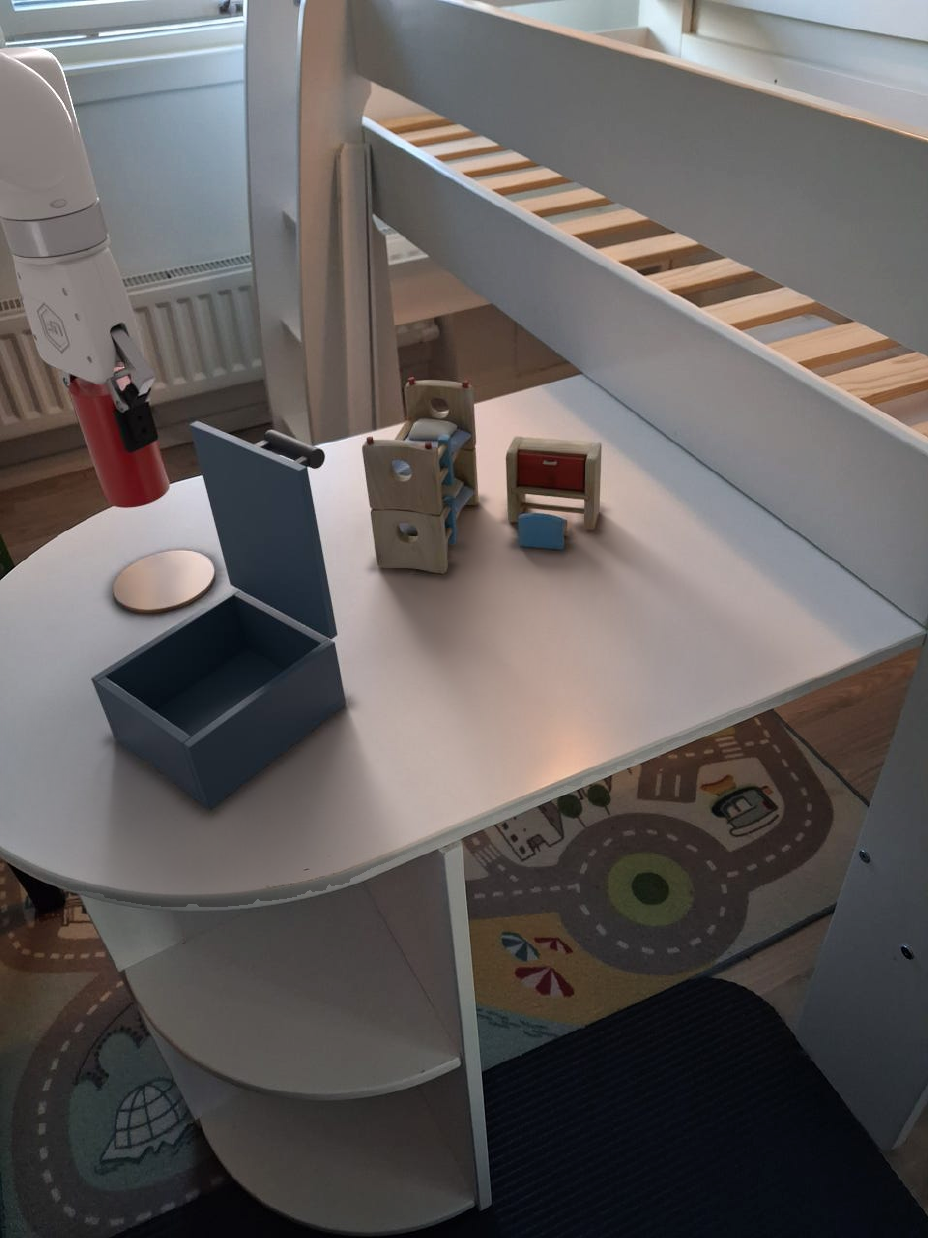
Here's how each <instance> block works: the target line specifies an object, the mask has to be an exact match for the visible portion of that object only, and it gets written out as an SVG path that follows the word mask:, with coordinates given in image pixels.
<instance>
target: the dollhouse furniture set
mask: <svg viewBox="0 0 928 1238" xmlns="http://www.w3.org/2000/svg"><path fill="white" fill-rule="evenodd" d="M407 381H408V382H406V384H405V386H404V401H405V411H406V421H405V422H404V424H403V425H402V427H401V428H400V430H399V432H398V433H397V434H396V436H395V437H394V438H393V439H374V437H373V436H367V437H366V441H364V443H363V444H362V446H361V452H362V460H363V467H364V474H365V481H366V482H365V483H366V489H367V495H368V503H369V508H370V509H371V510H370V520H371V527H372V535H373V542H374V550H375V558H376V565H377V567H378V568H383V569H415V570H420V571H425V572H430V573H435V574H442V575H444V574H446V573H447V571H448V568H449V562H448V549H449V547H448V546H449V545H451V546H453V545H454V546H455V545H456V543H458V542H457V541H458V528H457V527H458V526H457V521H458V519H459V516H460V514H461V511H462V509H463V507H465V506H477V505H478V502H479V483H478V481H479V480H478V470H477V468H478V467H477V450H476V449H477V448H476V445H477V433H476V432H477V431H476V417H475V416H476V415H475V396H474V386H473V385H471V384H469V382H468V380H463V381H462V382H456V381H450V380H437V379H436V380H435V379H427V380H415V377H412V376H410V377H408V380H407ZM434 399H441V400H442V401H444V402H445V403H446V405H447V407H448V411H446V412H439V411H437V410H435V408H434V407H433V405H432V400H434ZM602 446H603V445H602V443H601V442H596V441H592V442H591V441H579V440H566V439H553V438H540V437H528V436H527V437H526V436H525V437H524V436H518V435H517V436H514V437H513V439H512V441H511V442H510V444H509V447H508V449H507V450H506V455H505V468H506V469H505V475H506V479H505V480H506V500H507V501H506V503H507V505H506V506H507V521H508V522H509V523H517V531H518V546H519V547H520V546H521V547H527V548H537V549H547V550H548V549H549V550H557V551H562V550H564V547H565V537H567V536H568V519H565V518H562V517H561V516H557V515H553V514H550V513H544V512H543V513H542V512H541V513H540V512H528V513H523V511H524V509H531V510H539V511H540V510H541V511H553V512H559V513H560V512H561V513H571V514H580V515H581V514H582V515H583V530H585V531H594V530H595V527H596V524H597V520H598V517H599V513H600V511H601V510H600V507H601V506H600V505H601V475H602ZM526 495H529V496H530V495H531V496H540V497H541V496H542V497H550V498H551V497H552V498H562V499H573V500H580V501H583V503H584V505H583V507H577V506H569V505H568V506H567V505H557V504H547V503H539V502H538V503H537V502H529V501H527V500H526V499H527V497H526Z"/></svg>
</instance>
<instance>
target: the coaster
mask: <svg viewBox="0 0 928 1238" xmlns="http://www.w3.org/2000/svg"><path fill="white" fill-rule="evenodd" d="M215 577H216V569H215V566H214V564H213V562H212V560H210V558H208V557H207V556H205V555H203V554H202V553H200V552H195V551H190V550H167V551H161V552H157V553H154V554H151V555H148V556H144V557H143V558H140V559H138V560H136V561H135V562H133V563H131V564H130V565H128V566H127V567H125V568H124V569H123V570H122V571H121V572H120V573H119V575H117V577H116V579H115V581H114V583H113V586H112V593H113V596H114V599H115V600H116V602H117V603H118V604H119V605H120V606H121V607H123V608H124V609H127V610H129V611H132V612H137V613H143V614H144V613H145V614H153V613H162V612H169V611H173V610H175V609H179V608H181V607H184V606H186V605H188V604H190V603H192V602H194V601H196V600H198V599H199V598H201V597H202V596H203V595H204V594H206V592H207V591H208V590H209V589H210V588H211V587H212V585H213V583H214V582H215Z"/></svg>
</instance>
